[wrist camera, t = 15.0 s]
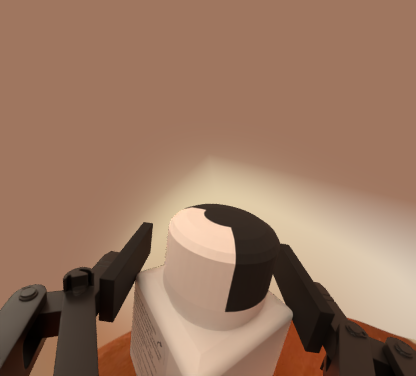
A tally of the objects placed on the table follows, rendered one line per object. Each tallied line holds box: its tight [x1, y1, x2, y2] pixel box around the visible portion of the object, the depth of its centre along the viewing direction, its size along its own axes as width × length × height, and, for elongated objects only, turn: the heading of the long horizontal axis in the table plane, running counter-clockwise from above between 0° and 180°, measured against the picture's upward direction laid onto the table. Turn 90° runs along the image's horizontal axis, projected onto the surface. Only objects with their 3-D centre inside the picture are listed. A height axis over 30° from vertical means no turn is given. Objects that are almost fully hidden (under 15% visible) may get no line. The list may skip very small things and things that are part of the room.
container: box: [130, 204, 293, 376], centre depth 13 cm, size 8×8×13 cm
